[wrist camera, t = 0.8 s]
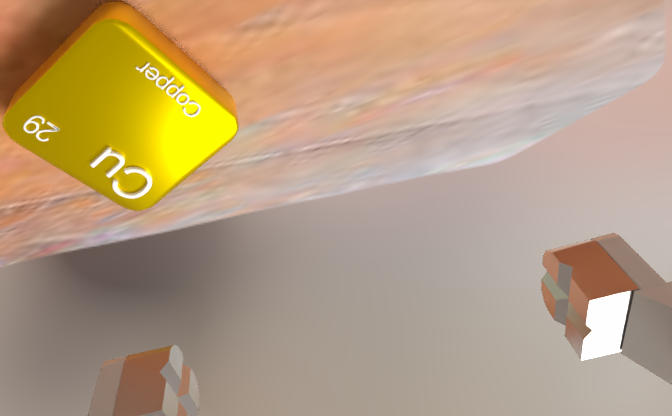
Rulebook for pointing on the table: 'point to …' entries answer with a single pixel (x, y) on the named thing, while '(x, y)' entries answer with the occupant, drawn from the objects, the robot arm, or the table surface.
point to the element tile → (122, 109)
